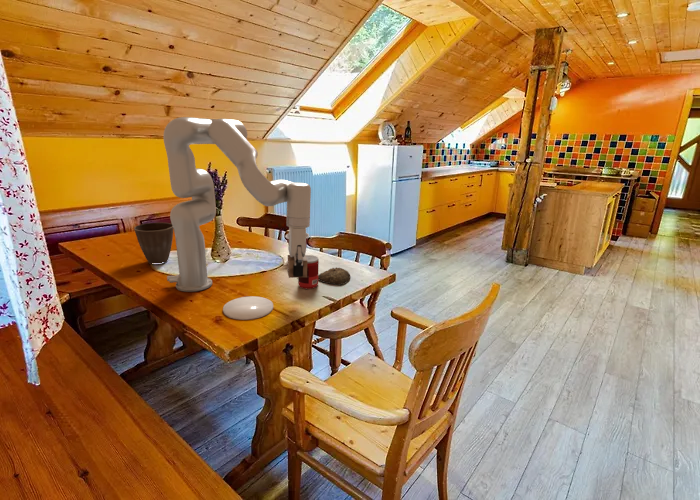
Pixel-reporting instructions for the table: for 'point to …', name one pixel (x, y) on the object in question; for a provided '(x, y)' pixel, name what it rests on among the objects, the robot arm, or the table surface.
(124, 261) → the table surface
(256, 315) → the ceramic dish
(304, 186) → the robot arm
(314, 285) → the canned food
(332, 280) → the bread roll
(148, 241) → the plant pot
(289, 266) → the walnut block
